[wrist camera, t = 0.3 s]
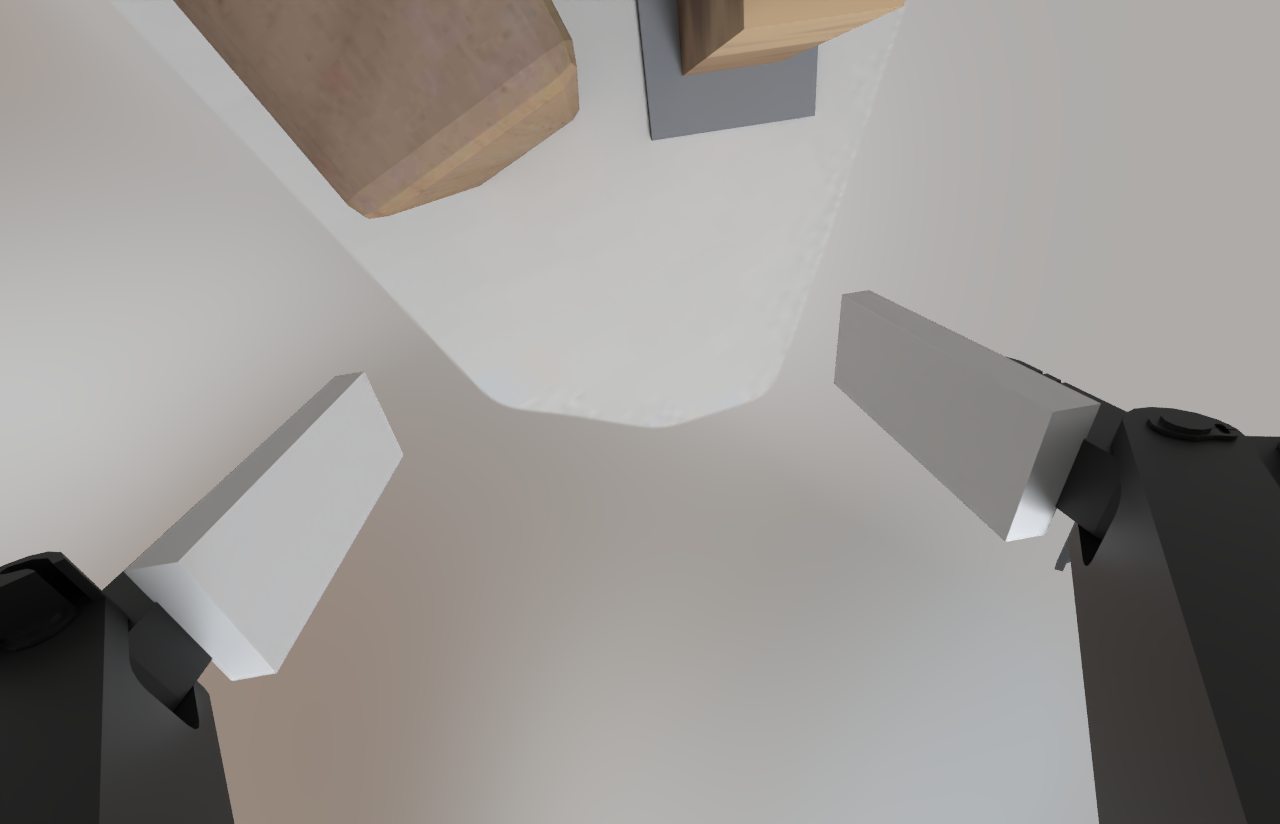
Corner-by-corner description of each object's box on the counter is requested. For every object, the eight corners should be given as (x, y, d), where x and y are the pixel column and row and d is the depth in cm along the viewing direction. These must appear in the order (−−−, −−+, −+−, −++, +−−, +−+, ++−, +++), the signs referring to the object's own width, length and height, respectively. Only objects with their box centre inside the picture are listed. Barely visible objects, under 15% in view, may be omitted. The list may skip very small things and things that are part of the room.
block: (365, 43, 30) (60, -110, 12) (492, -60, 28) (346, -403, 11) (471, 192, 34) (358, 234, 17) (585, 111, 33) (588, 67, 15)
